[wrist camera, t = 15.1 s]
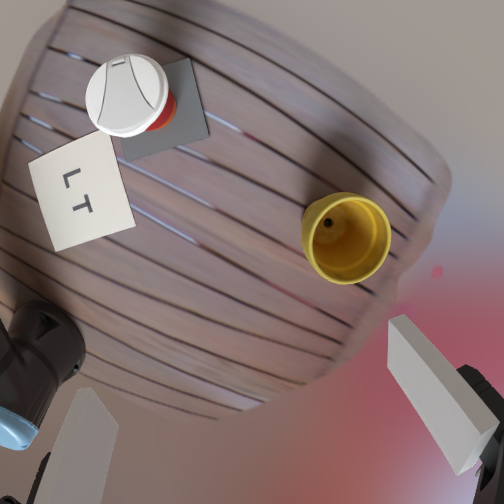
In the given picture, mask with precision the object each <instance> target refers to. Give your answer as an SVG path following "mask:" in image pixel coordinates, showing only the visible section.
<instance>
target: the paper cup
mask: <svg viewBox="0 0 504 504" xmlns="http://www.w3.org/2000/svg"><path fill="white" fill-rule="evenodd" d="M86 107H87V111H88V114H89V117H90V119H91V120H92V122H93V123H94V124H95V126H96V127H97V128H99V129H100V130H101V131H103V132H105V133H107V134H110V135H113V136H119V137H124V138H126V137H132V136H135V135H138V134H140V133H142V132H144V131H152V130H158V129H161V128H163V127H165V126H166V125H168V124H169V123H170V122H171V120H172V119H173V117H174V115H175V113H176V101H175V98H174V96H173V94H172V92H171V90H170V88H169V86H168V81H167V77H166V75H165V72H164V70H163V69H162V67H161V66H160V65H159V64H158V63H157V62H156V61H155V60H153V59H152V58H150V57H148V56H145V55H141V54H126V55H121V56H118V57H116V58H114V59H112V60H110V61H109V62H106V63H104V64H103V65H102V66H101V67H100V68H99V69H98V70H97V71H96V72H95V73H94V75H93V76H92V78H91V80H90V82H89V84H88V87H87V91H86Z"/></svg>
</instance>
